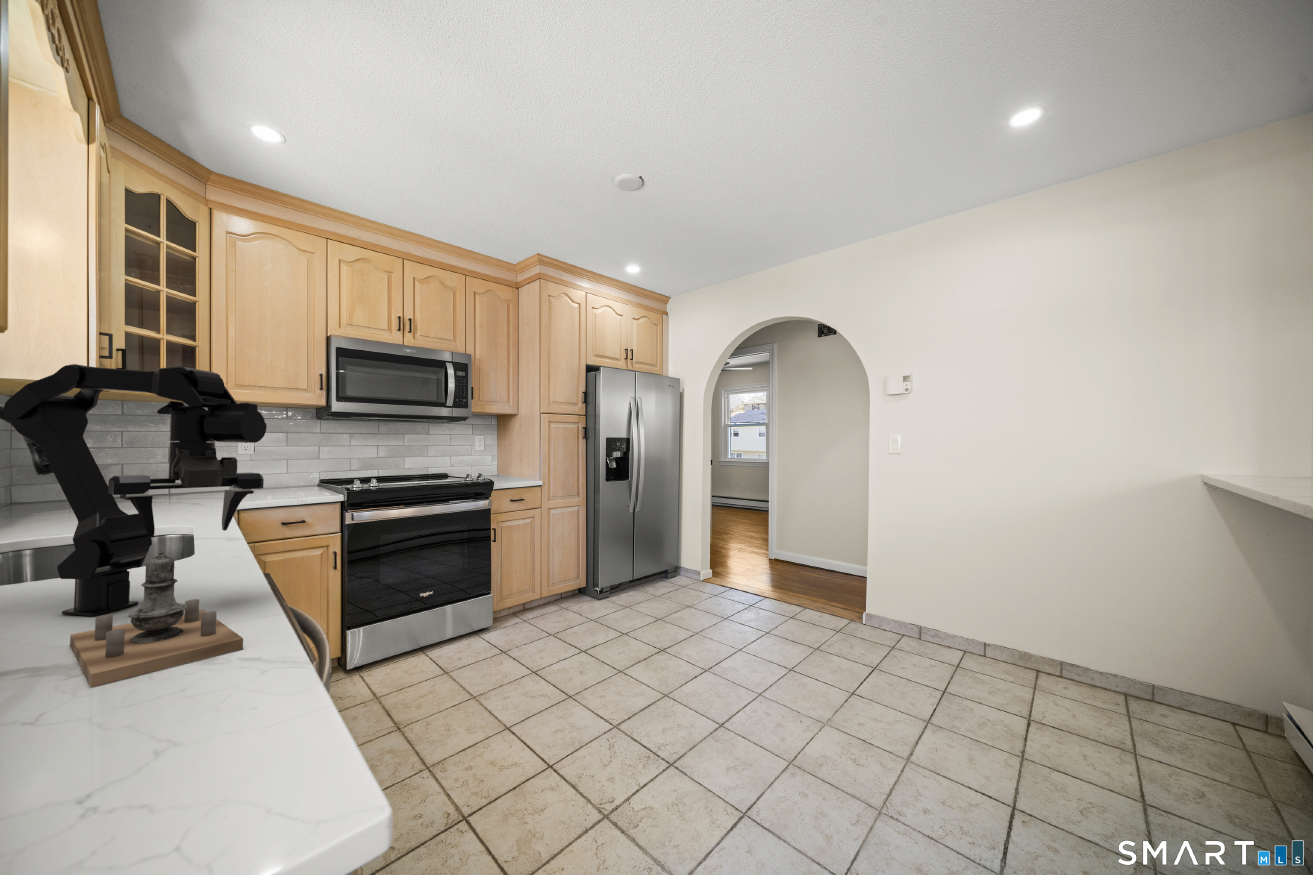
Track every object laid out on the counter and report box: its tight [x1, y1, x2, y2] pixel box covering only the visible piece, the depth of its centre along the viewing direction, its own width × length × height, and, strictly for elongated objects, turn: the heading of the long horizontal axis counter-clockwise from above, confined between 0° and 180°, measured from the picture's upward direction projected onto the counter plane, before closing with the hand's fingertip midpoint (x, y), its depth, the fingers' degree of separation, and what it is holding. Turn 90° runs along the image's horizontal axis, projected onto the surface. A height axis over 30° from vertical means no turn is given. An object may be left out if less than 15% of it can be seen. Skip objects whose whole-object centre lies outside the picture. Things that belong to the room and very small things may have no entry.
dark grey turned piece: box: [127, 548, 187, 643], centre depth 70 cm, size 6×6×12 cm
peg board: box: [69, 598, 244, 688], centre depth 69 cm, size 20×14×4 cm
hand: (189, 533), depth 85 cm, fingers open, 9 cm apart
